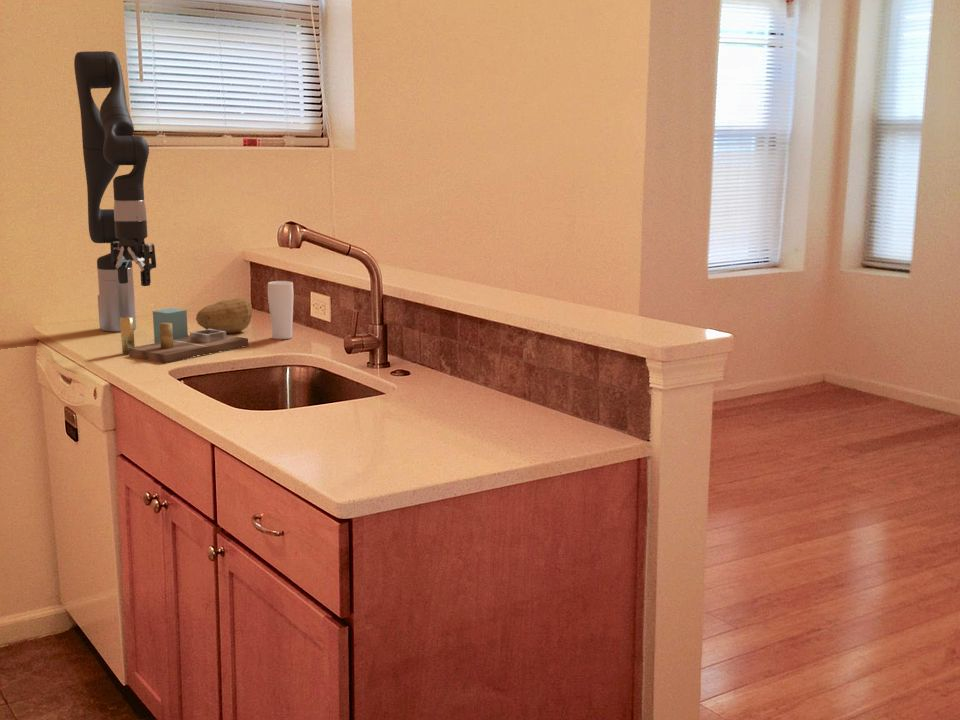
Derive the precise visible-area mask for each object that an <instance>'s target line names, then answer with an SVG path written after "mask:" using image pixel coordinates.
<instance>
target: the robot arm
mask: <svg viewBox="0 0 960 720" xmlns="http://www.w3.org/2000/svg"><path fill="white" fill-rule="evenodd" d="M73 60H74V61H73V64H74V65H73V67H74V75H75V82H76V89H77V97H78V103H79V111H80V122H81V123H80V124H81V138H82V139H81V140H82V152H83V153H82V154H83V161H84V170H85V178H86V179H85V180H86V188H87V189H86V190H87V191H86V192H87V218H88V219H87V223H88V233H89V237H90V240H91V241H92V242H93V243H95V244H109V246H110V253H107V254H104V255H101V256H99V257H97V260H96V269H97V270H96V271H97V280H98V281H97V283H98V295H97V307H98V309H97V310H98V319H99V329H101V331H104V332H121V325H120V318H121V317H133V329H134V330H136V329H137V319H136V317H137V316H136V300H135V286H134V273H133V272H134V271H133V262H134V263H135V265H138V268H139V269H140V270H141V271H140V285H141V286H142V287H149V286H151V283H152V282H151V270H153V269H156V268H157V260H156V259H157V258H156V249H155V244H154V243H146V241H145V239H147V237H148V224H147V223H148V221H147V208H146V203H145V191H144V181H145V180H144V178H145V173H146V168H147V167H146V166H147V163H148V159H149V153H150V146H149V143H148V142H147V140H146V139H145V138H144V137H143V136H140V135H134V133H135V126H134V124H133V120H132V118H131V117H132V116H131V115H130V111H129V108H128V104H127V97H126V96H127V95H126V88H125V81H124V77H123V76H124V75H123V69H122V65H121V62H120V59H119V57H118V56H117V53H115V52H114V51H113V52H112V51H107V50H105V51H104V50H103V51H102V50H101V51H100V50H99V51H88V50H87V51H78V52H76V53H75V55H74V59H73ZM92 89H94V90H95V89H110V90H109V92H108V94H107V95H106V97H105V98H104V99H103V101H102V103H101V104H100V105H101V106H100V108H99V107H98V106H97V104H96V103H95V100H94V98H93V95H92ZM120 166H132V167H133V168H132V170H131V171H130V172H129V173H126V174H122V175H117V176H115V175H116V173H117V172H118V169H119V167H120ZM114 176H115V177H114ZM112 180H113V181H112ZM111 181H112V188H113V200H114V203H113V209H112V208H111V209H110V208H108V209H106V208H105V209H101V208H100V206H101V201H102V199H103V197H104V194H105V192H106V190H107V189H108V188H107V187H108V186H109V185H110V183H111ZM150 261H151V262H150Z"/></svg>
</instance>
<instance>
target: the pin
mask: <svg viewBox="0 0 960 720" xmlns="http://www.w3.org/2000/svg"><path fill="white" fill-rule="evenodd" d="M120 325H121V331H120V338H121V340H120V341H121V350H122V351H121V352H122V353H121V354H122V355H129V348H132V347H136V346H135V329H133V317H121V318H120Z"/></svg>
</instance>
